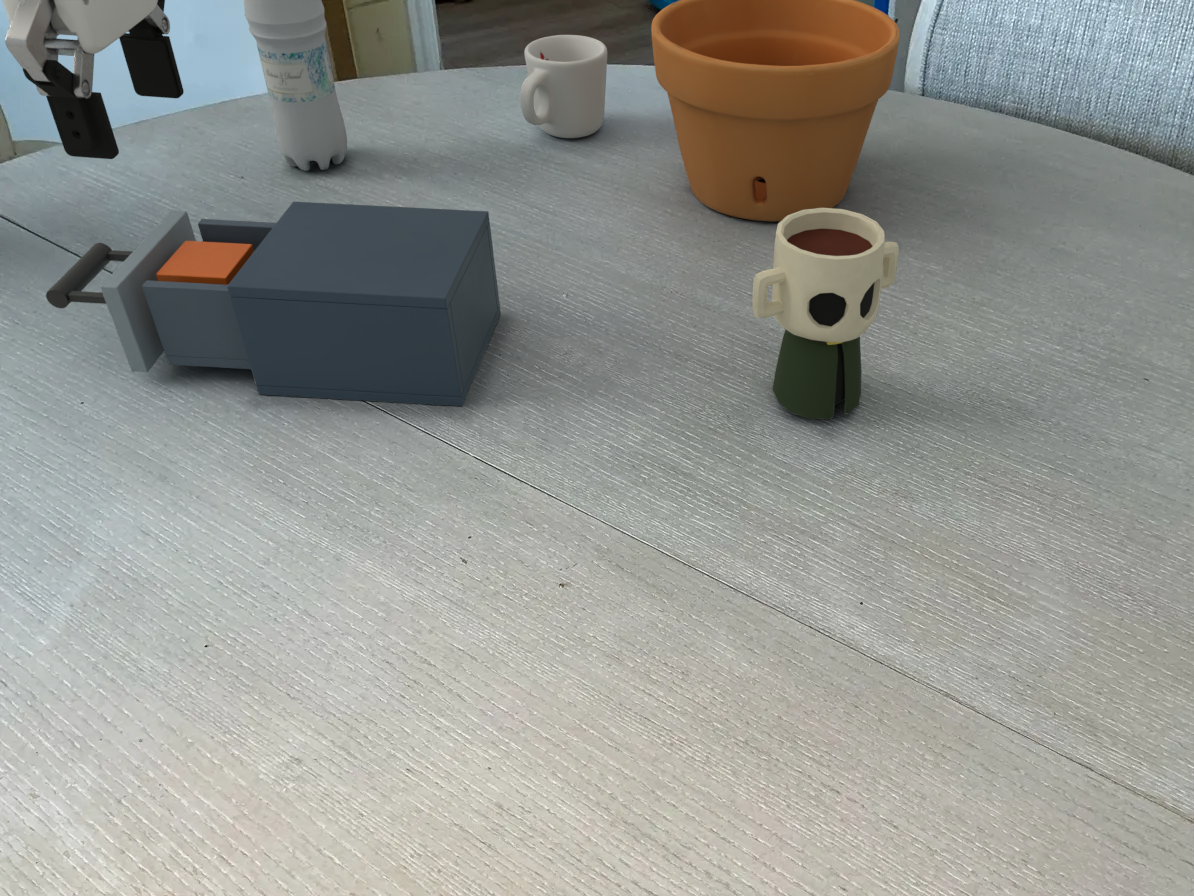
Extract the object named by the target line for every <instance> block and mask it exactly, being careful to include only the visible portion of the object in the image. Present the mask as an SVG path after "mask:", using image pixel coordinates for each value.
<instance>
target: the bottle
mask: <svg viewBox="0 0 1194 896" xmlns="http://www.w3.org/2000/svg"><path fill="white" fill-rule="evenodd" d="M243 7H244V17H245V19H246V21H247V23H248V31H249V33H250V34H251V35H252V37H253V38H254V40H255V43H256V48H257V52H258V56H259V60H260V65H261V68H262V69H261V70H262V74H263V77H264V81H265V86H266V90H267V94H268V97H269V102H270V109H271V115H272V121H273V127H274V131H275V132H274V133H275V138H276V141H277V146H278V148H279V151H280V154H281V155H282V157H283V159H284V161H285V162H286V163H287V164H289V166H292V167H298V169H300V170H301V171H310V169H311V163H310V162H312V161H314V162H316V163H317V164H318V167H319V169H320V170H322V171H325V170H328V169H329V167H330V162H331V160H332V163H333V164H335V165H340V164H341V163H343V161H344V160H345V157H346V152H347V147H348V135H347V129H346V124H345V120H344V117H343V114H342V109H341V106H340V101H339V99H338V95H337V91H336V85H335V80H334V75H333V69H332V64H331V59H330V54H329V50H328V49H329V48H328V44H327V39H326V34H325V33H326V29H327V20H326V19H325V7H324V4H323V1H322V0H243Z"/></svg>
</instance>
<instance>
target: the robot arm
mask: <svg viewBox="0 0 1194 896" xmlns="http://www.w3.org/2000/svg"><path fill="white" fill-rule="evenodd" d="M2 4H3V6H4V10H5V13H6V15H7V19H8V22H9V27H8V29H7V31H6V34H5V37H4V40H5V41H4V42H5V46H6V48H7V50H8V51H9V53H10V54H11V55H12V57H13V58H14V59H15V61H16V62H17V63H18V64H19V66H20V67H21V68H22V72H23V74H24V77H25V78H26V79H27V80H28V81H29V82H31V83H32V84H33V85H35V87H36V91H37V92H38V94H39V95H40V96H43V97H45V98H46V100H47V103H48V106H49V109H50V112H51V115H52V118H53V120H54V123H55V126H56V129H57V132H58V135H59V139H60V141H61V144H62V147H63V149H64V152H65V153H66V154H67V155H68V156H69V157H76V158H90V159H103V160H113V159H115V158H116V157H117V156H119V154H120V150H119V147H118V143H117V140H116V137H115V134H114V130H113V128H112V127H113V126H112V124H111V121H110V117H109V114H108V112H107V108H106V105H105V101H104V99H103V96H102V95H103V94H102V93H101V92H97V91H93V85H94V84H93V83H94V68H95V67H94V66H95V54H98V53H100V52H102V51H104V50H105V49H107V48H108V47H109V46H111V45H112V44H113V43H114V42H116V41H117V40H118V39H119V43H120V46H121V49H122V52H123V56H124V59H125V62H126V66H127V69H128V73H129V76H130V79H131V83H132V86H133V90H134V92H135V94H136V95H138V96H140V97H150V98H163V99H165V98H166V99H180V98H181V97H182V96H183V95H184V93H185V91H184V87H183V83H182V79H181V76H180V71H179V68H178V65H177V61H176V56H175V53H174V49H173V46H172V41H171V37H170V36H168V35H169V34H170V31H171V23H170V20H169V17H168V16H167V15H166V14H165V4H166V0H2ZM60 35H61V36H74V37H75V36H76V37H77V39H68V38H58V36H60ZM59 56H66V57H67V56H68V57H73V67H72V68H73V69H72V71H71V70H70V69H68V68H67V67H66V66H65V65H63V64H62V63H61V62H59Z"/></svg>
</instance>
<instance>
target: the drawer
mask: <svg viewBox="0 0 1194 896" xmlns="http://www.w3.org/2000/svg"><path fill="white" fill-rule="evenodd" d="M276 223H277V222H271V221H251V220H250V221H249V220H233V219H232V220H231V219H214V218H213V219H212V218H201V219H200V220H198V222H197V227H198V230H199V234H200V237H201V241H202V242H221V243H240V244H252V245H253V249H254V251H255V250H256V249H257V247H258V246H259V245H260V244H261V242H262V241H263V240H264V238H265V237H266V236H267V235H268V233H269V232H270V231H271V229H272V228H273V227H274V226H275V224H276ZM185 241H197V240H196V236H195V233H194V229H193V226H192V223H191V220H190V216H189V213H188V211H187V210H171V211H170V212H169V213H168V214H167V215H166V216H165V217H164V218H163V219H162V220H161V221H160V222H159V223H158V224H157V225H156V226H155V227H154V229H153V230H152V231H151V232H150V233H149V234H148V235H147V236H146V237H145V238H144V239H143V240H142V242H140V244H139V245H138V246H136V247H135V249H134V250H119V249H118V250H117V249H112V248H111V247H110V246H109V245H108V244H106V243H104V242H96V243H94V244H93V245H92V246H91V247H90V248H89V249H88V250H87V251H86V252H85V253H84V254H83V255H82V256H81V257H80V258H79V259H78V260H77V261H76V262H75V263H74V264H73V265H72V266H71V267H70V268H69V269H68V270H67V271H66V272H65V273H64V274H63V275H62V276H61V277H60V278H59V279H58V280H57V281H56V282H54V284H53V285H52V286H51V287H50V288H49V289H48V290H47V291H46V293H45V298H46V300H47V302H48V303H49V304H50V305H51V306H52V307H54V308H57V309H66V308H67V307H68V306H69V305H70V304H71V303H82V304H83V303H84V304H101V305H106V306H107V309H108V311H109V314H110V317H111V320H112V323H113V326H114V328H115V331H116V333H117V336H118V339H119V341H120V344H121V346H122V349H123V352H124V355H125V358H126V360H127V363H128V366H129V368H130V370H131V372H133V373H149V372H150V370H151V369H152V367H153V366H154V365H155V364H156V362H157V361H158V360H159V359H160V357H161V356H162V355H163V353H164V355H165V357H166V359H167V363H168V365H173V366H185V367H186V366H189V367H207V368H224V369H239V370H240V369H241V370H251V367H250V363H249V360H248V356H247V353H246V349H245V346H244V343H243V339H242V336H241V332H240V329H239V326H238V322H237V319H236V315H235V312H234V309H233V305H232V302H231V298H230V295H229V292H228V288H227V286H228V285H222V284H203V283H185V282H167V281H158V279H157V276H156V273H157V272H158V271H159V270H160V269H161V268H162V267H163V266H164V264H165V263H166V262H167V261H168V260H169V259H170V258H171V256H172V255H173V254H174V253H175V252H176V251H177V250H178V249H179V247H180V246H181V245H182V244H183V243H184V242H185ZM110 262H122V263H121V264H120V265H119V266H118V267H117V268H116V269H115V270H114V271H113V272H112V273H111V275H109V276H108V277H107V278H106V279H105V281H104V282H103V283H102V284H101V285H100V290H101V291H100V292H99V291H98V292H97V291H84V289H85V288H86V287H87V286H88V285H89V284H90V283H91V282H92V281H93V280H94V279H95V278H96V277H97V275H99V274H100V273H101V272H102V270H104V269H105V267H106V266H107V265H108V264H109V263H110Z"/></svg>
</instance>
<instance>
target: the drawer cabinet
mask: <svg viewBox="0 0 1194 896" xmlns="http://www.w3.org/2000/svg"><path fill="white" fill-rule="evenodd" d="M275 223H276V224H275V226H274V227H273V228H272V229H271V231H270V232H269V233H268V235H267V236H266V237H265V238H264V240H263V241H262V242H261V244H260V245H259V246H258V247H257V249H256V250H255V251H254V252H253V254H252V255H251V256H250V258H249V259H248V260H247V261H246V263H245V264H244V265H243V267H242V268H241V269H240V270H239V272H238V273H237V274H236V276H235V277H234V278H233V279H232V281H231V282H230V283H229V285H228V286H227V288H228V292H229V295H230V298H231V302H232V305H233V309H234V312H235V315H236V319H237V322H238V326H239V329H240V332H241V336H242V339H243V343H244V346H245V349H246V353H247V356H248V360H249V363H250V367H251V369H250V370H251V373H252V376H253V380H254V383H255V385H256V386H255V387H256V390H257V393H258V395H262V396H279V397H294V398H295V397H298V398H314V399H327V400H330V399H332V400H347V401H349V400H350V401H364V402H383V403H397V404H398V403H399V404H414V405H415V404H416V405H417V404H419V405H434V406H449V407H463V405H464V403H465V401H466V397H467V396H468V393H469V391H470V388H471V386H472V385H473V384H472V383H473V381H474V378H475V376H476V374H477V372H478V369H479V366H480V364H481V362H482V360H483V357H484V355H485V352H486V351H487V347H488V345H489V343H490V341H491V338H492V336H493V333H494V330H495V328H496V326H497V323H498V321H499V320H500V317H501V314H502V313H501V306H500V305H501V303H500V295H499V289H498V287H499V286H498V279H497V278H498V277H497V271H496V263H495V255H494V246H493V245H494V244H493V239H492V237H493V236H492V230H491V222H490V213H489V211H487V210H466V209H451V208H450V209H449V208H431V207H430V208H429V207H411V206H410V207H408V206H390V205H389V206H388V205H372V204H371V205H370V204H369V205H368V204H353V203H352V204H351V203H332V202H314V201H313V202H311V201H309V202H308V201H292V202H291V203H290V204H289V206H288V207H287V209H286V210H285V211H284V213H283V214H282V215H281V216H280V218H279V219H278V220H277V222H275Z"/></svg>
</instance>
